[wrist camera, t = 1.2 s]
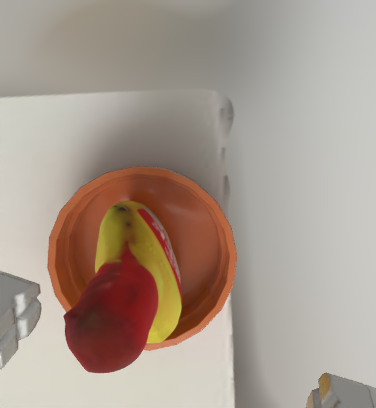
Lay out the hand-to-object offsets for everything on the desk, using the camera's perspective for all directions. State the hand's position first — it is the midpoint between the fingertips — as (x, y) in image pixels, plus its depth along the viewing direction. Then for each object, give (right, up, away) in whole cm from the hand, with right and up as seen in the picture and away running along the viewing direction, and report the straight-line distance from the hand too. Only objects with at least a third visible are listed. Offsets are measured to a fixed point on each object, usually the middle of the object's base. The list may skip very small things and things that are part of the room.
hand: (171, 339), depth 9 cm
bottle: (-4, -1, +27) cm, 27 cm away
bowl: (-4, -1, +27) cm, 28 cm away
